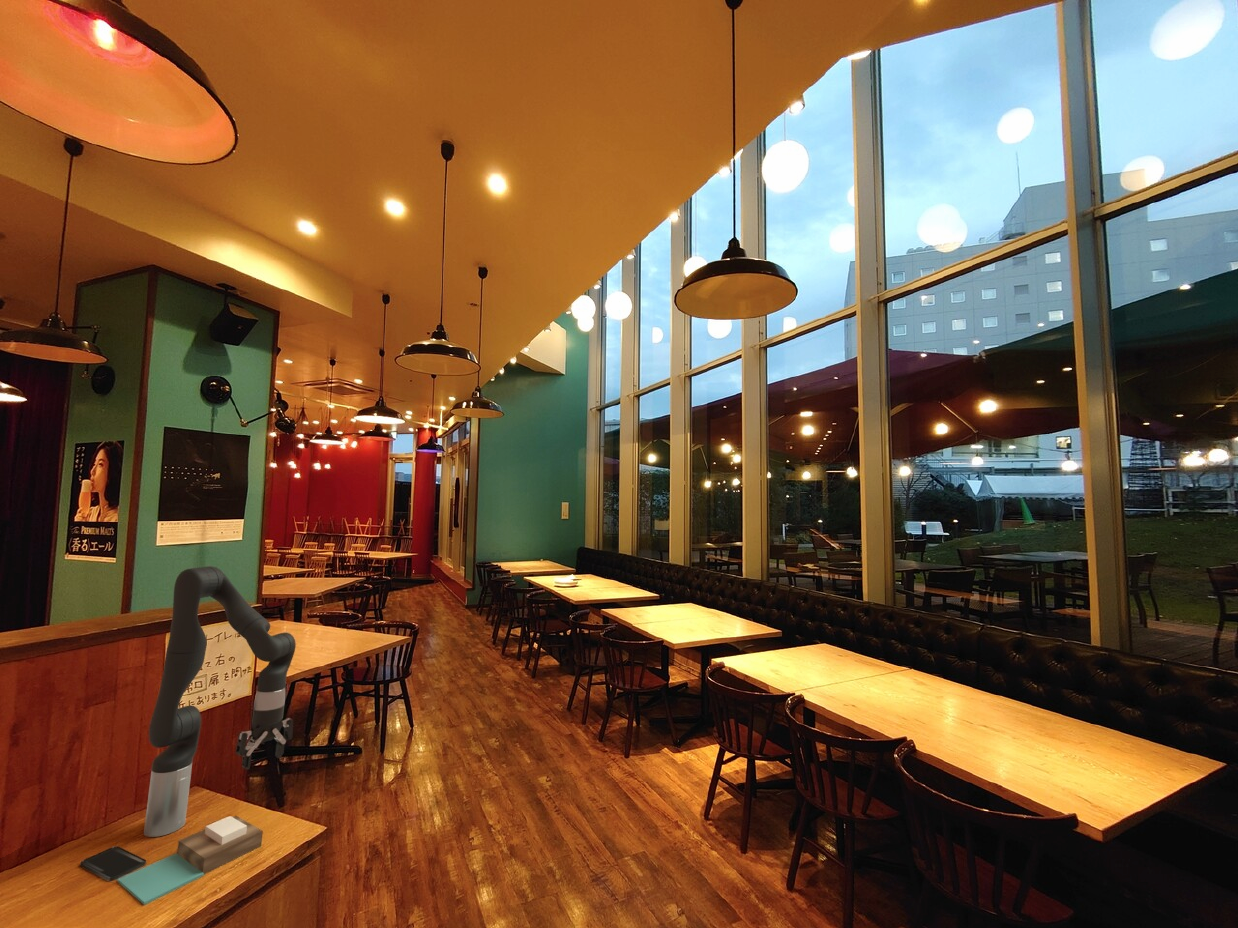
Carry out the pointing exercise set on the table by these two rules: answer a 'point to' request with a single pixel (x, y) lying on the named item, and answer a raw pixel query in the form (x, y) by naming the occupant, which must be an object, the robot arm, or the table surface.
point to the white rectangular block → (225, 830)
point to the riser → (218, 848)
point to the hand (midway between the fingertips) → (262, 762)
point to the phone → (113, 863)
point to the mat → (160, 878)
